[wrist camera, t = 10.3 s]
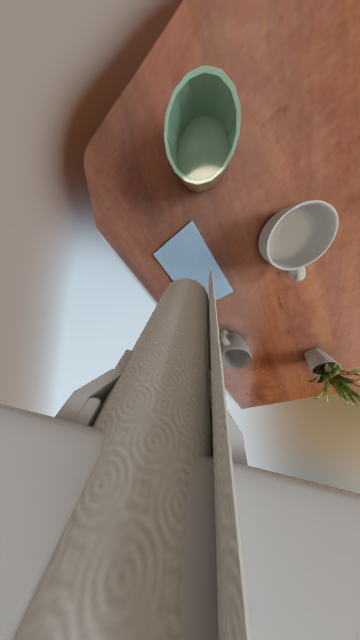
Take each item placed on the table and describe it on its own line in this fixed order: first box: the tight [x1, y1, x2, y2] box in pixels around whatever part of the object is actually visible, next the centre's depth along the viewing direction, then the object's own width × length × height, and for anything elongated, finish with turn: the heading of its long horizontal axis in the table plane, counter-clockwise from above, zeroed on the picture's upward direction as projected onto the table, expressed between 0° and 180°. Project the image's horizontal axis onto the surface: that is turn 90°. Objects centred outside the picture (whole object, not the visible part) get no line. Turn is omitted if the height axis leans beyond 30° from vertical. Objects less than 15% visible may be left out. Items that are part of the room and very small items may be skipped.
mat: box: [153, 221, 233, 301], centre depth 39 cm, size 20×12×1 cm, turn 37°
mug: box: [220, 329, 251, 369], centre depth 45 cm, size 12×9×10 cm
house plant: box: [304, 348, 360, 406], centre depth 42 cm, size 14×14×16 cm
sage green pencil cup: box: [164, 65, 241, 192], centre depth 23 cm, size 10×10×9 cm
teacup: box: [259, 200, 339, 281], centre depth 30 cm, size 14×11×8 cm
